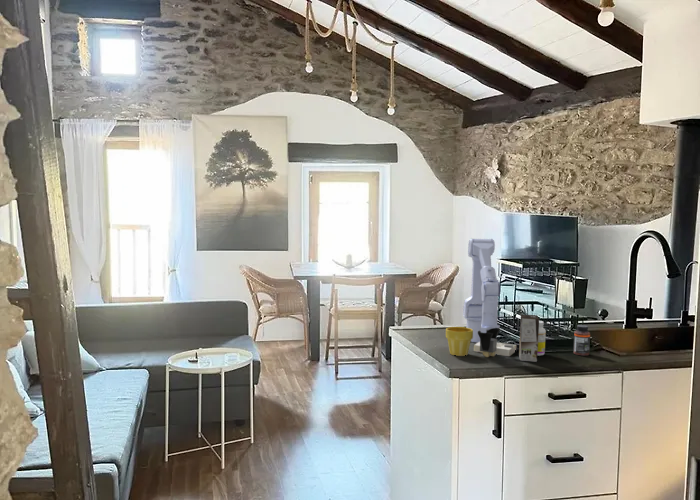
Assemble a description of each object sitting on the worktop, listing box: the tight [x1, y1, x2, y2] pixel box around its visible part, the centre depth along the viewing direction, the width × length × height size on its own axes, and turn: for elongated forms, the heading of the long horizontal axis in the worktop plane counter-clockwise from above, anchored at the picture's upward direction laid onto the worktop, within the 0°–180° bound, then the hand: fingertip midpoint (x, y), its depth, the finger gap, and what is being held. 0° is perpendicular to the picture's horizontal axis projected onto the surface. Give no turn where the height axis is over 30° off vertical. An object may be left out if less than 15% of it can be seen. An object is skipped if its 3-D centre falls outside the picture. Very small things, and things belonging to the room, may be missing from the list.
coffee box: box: [518, 314, 540, 363], centre depth 251 cm, size 9×6×16 cm
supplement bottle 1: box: [537, 320, 547, 357], centre depth 258 cm, size 7×7×13 cm
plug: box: [480, 338, 498, 358], centre depth 254 cm, size 4×5×6 cm
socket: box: [473, 341, 517, 357], centre depth 262 cm, size 10×14×3 cm
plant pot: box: [445, 326, 473, 357], centre depth 255 cm, size 10×10×10 cm
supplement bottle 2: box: [572, 324, 591, 357], centre depth 260 cm, size 6×6×11 cm
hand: (488, 348), depth 254 cm, fingers open, 6 cm apart
